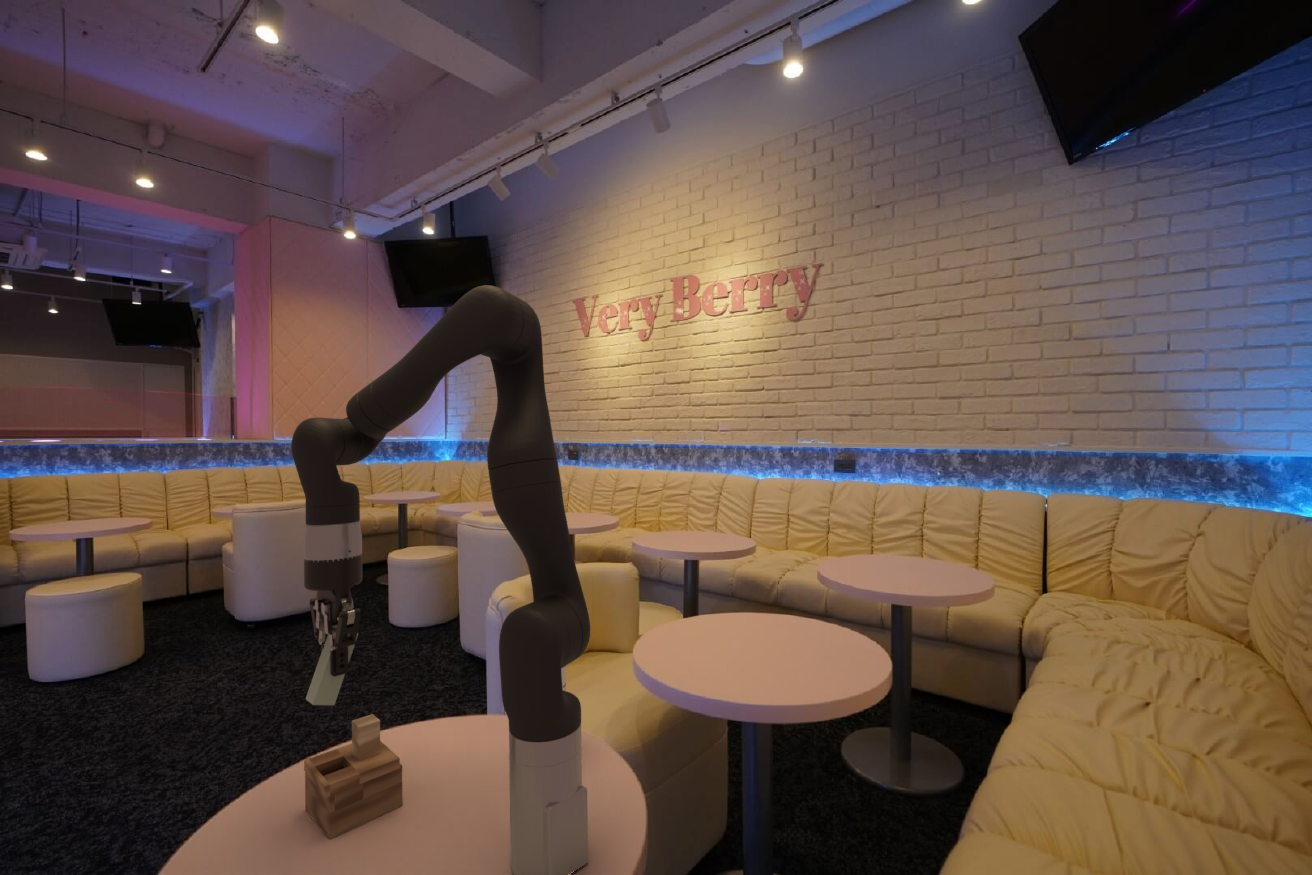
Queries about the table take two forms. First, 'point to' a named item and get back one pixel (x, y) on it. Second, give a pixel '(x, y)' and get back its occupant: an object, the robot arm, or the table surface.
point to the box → (353, 802)
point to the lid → (353, 759)
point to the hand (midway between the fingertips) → (334, 670)
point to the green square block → (325, 679)
